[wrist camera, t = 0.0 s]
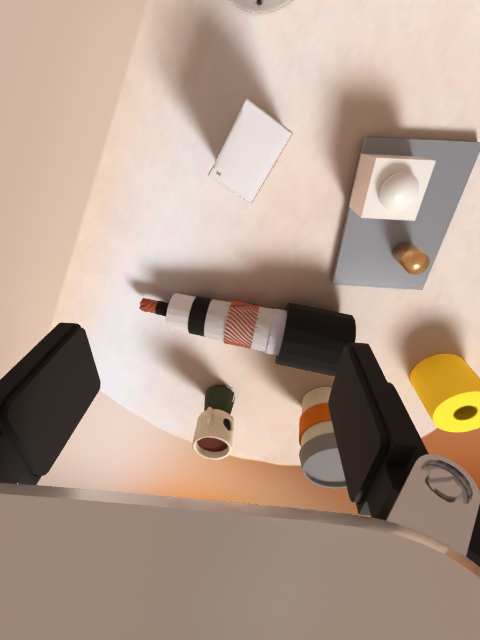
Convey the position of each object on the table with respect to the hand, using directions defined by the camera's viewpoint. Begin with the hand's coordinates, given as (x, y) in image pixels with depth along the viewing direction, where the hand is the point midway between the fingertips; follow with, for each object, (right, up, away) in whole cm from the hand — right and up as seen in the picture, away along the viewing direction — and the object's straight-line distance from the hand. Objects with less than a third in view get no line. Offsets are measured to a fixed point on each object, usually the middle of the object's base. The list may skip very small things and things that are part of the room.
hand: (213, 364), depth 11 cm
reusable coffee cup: (+19, -16, +53) cm, 58 cm away
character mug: (-3, -14, +53) cm, 55 cm away
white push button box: (+19, +20, +28) cm, 39 cm away
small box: (+3, +24, +28) cm, 37 cm away
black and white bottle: (+2, +3, +42) cm, 42 cm away
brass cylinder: (+25, +12, +33) cm, 43 cm away
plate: (+23, +16, +32) cm, 42 cm away
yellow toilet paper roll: (+39, -9, +47) cm, 61 cm away
